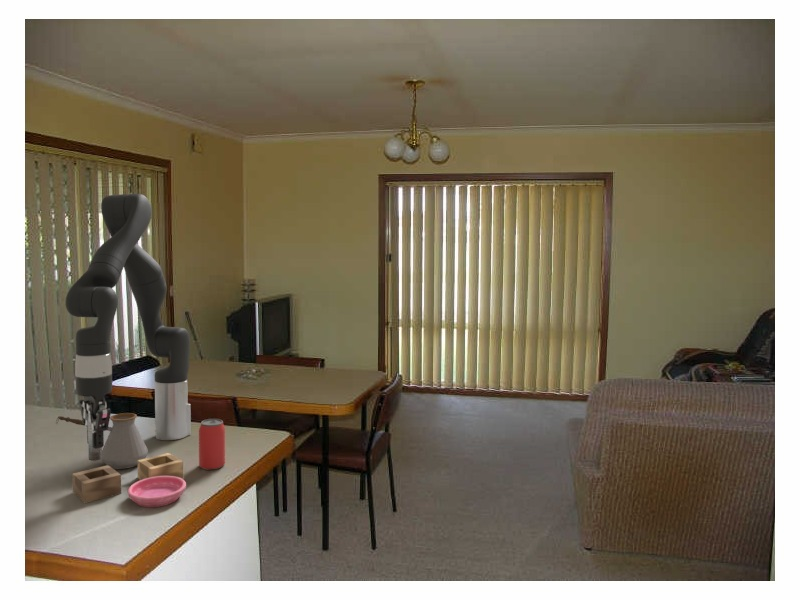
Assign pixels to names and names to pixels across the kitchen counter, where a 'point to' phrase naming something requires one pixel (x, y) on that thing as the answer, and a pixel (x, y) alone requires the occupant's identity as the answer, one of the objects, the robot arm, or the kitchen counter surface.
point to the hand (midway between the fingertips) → (95, 445)
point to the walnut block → (96, 483)
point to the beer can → (211, 444)
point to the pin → (93, 453)
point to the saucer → (157, 490)
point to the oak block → (160, 466)
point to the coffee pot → (120, 441)
